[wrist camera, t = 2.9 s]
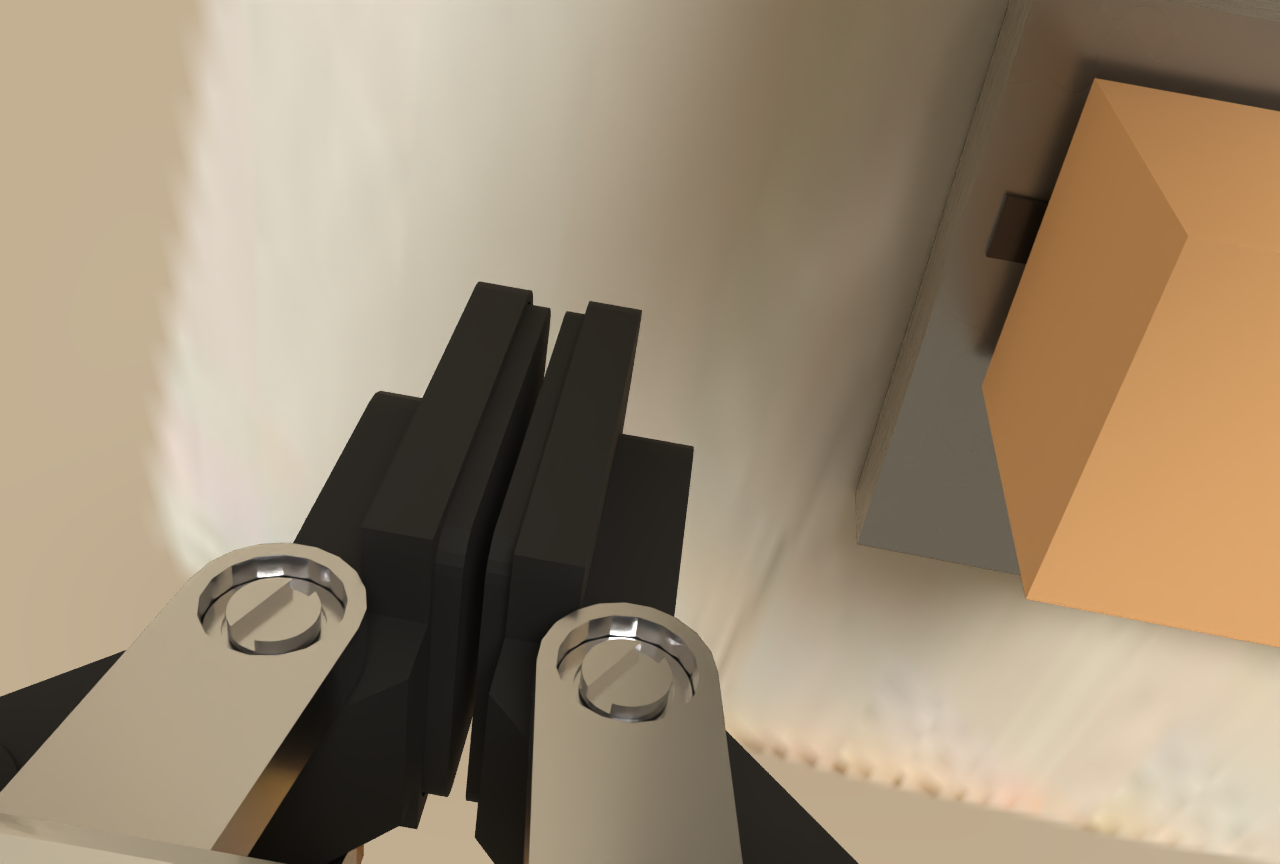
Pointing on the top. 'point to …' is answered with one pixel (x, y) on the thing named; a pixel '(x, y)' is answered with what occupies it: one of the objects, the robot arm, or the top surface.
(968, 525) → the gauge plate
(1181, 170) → the block
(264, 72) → the top surface
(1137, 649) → the top surface
